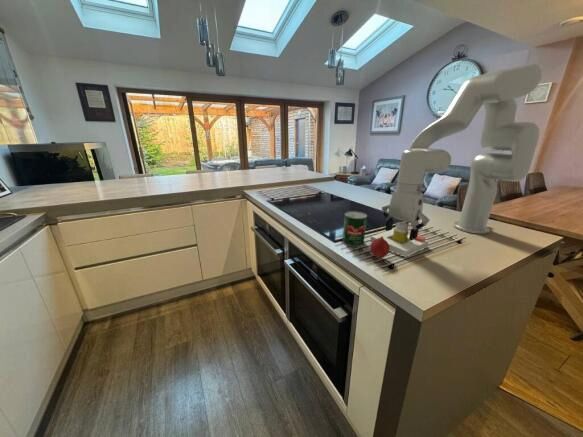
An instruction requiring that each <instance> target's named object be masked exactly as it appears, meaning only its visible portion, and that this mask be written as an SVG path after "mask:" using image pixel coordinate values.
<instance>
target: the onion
mask: <svg viewBox="0 0 583 437" xmlns="http://www.w3.org/2000/svg"><path fill="white" fill-rule="evenodd" d="M389 248H390V247H389V244H388V243H387V241H386V240H384V239H383V236H381V237H380V238H377V239H375V240H374V241H373V242H372V243H370V252H371V254H372V255H373V256H374V257H375V258H376V259H378V260H380V259H382V258H384V257H386V256H388V254H389V252H390V251H389ZM379 258H380V259H379Z"/></svg>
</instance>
